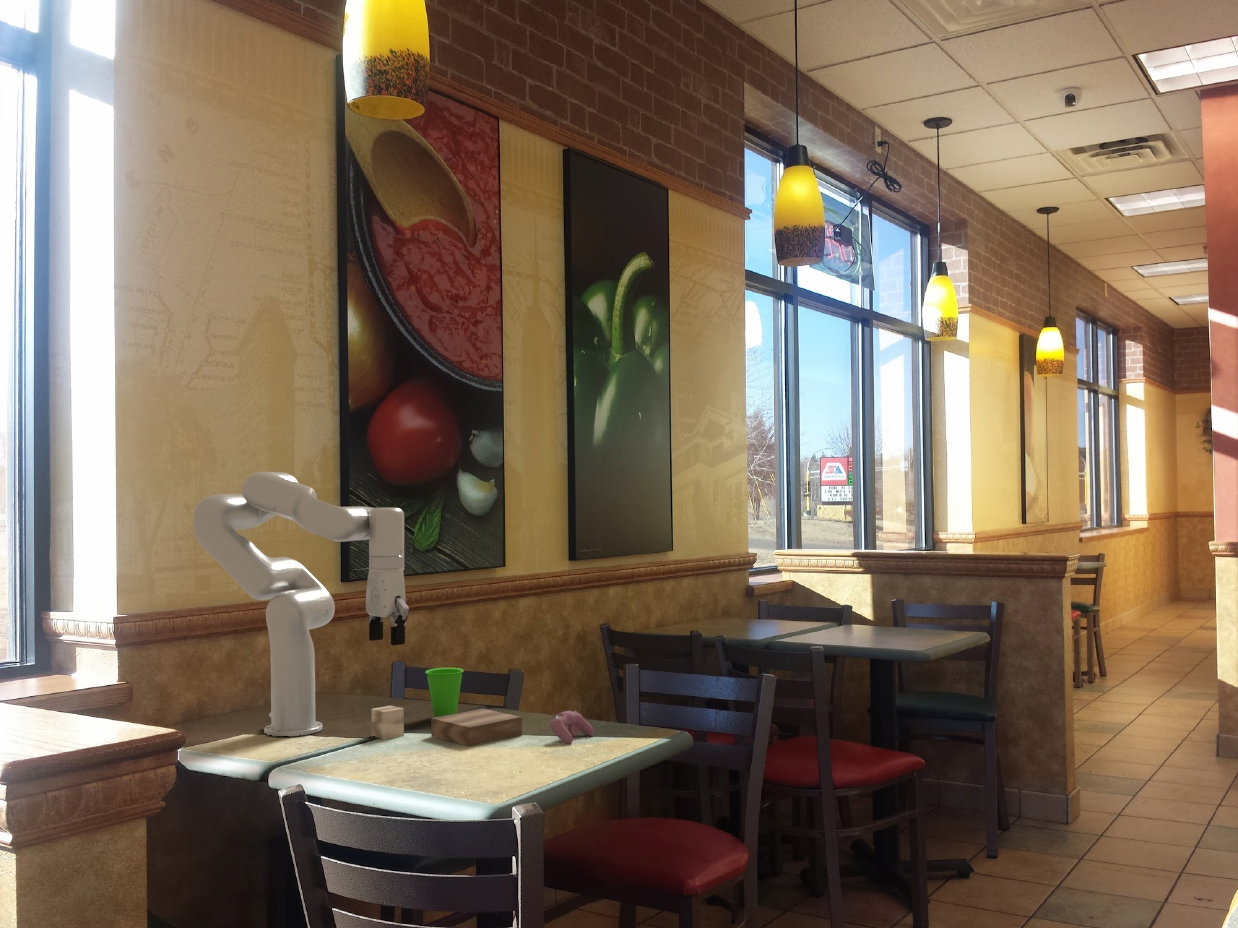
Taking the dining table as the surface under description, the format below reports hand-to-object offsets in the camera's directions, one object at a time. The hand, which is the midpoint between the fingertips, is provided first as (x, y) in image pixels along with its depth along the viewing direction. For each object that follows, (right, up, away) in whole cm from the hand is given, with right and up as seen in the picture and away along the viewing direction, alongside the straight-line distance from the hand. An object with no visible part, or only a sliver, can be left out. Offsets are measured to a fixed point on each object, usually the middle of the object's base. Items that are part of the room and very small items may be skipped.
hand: (386, 642), depth 241 cm
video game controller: (+41, -20, -5) cm, 46 cm away
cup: (+10, -21, +20) cm, 31 cm away
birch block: (0, -21, +1) cm, 21 cm away
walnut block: (+20, -20, -1) cm, 28 cm away
